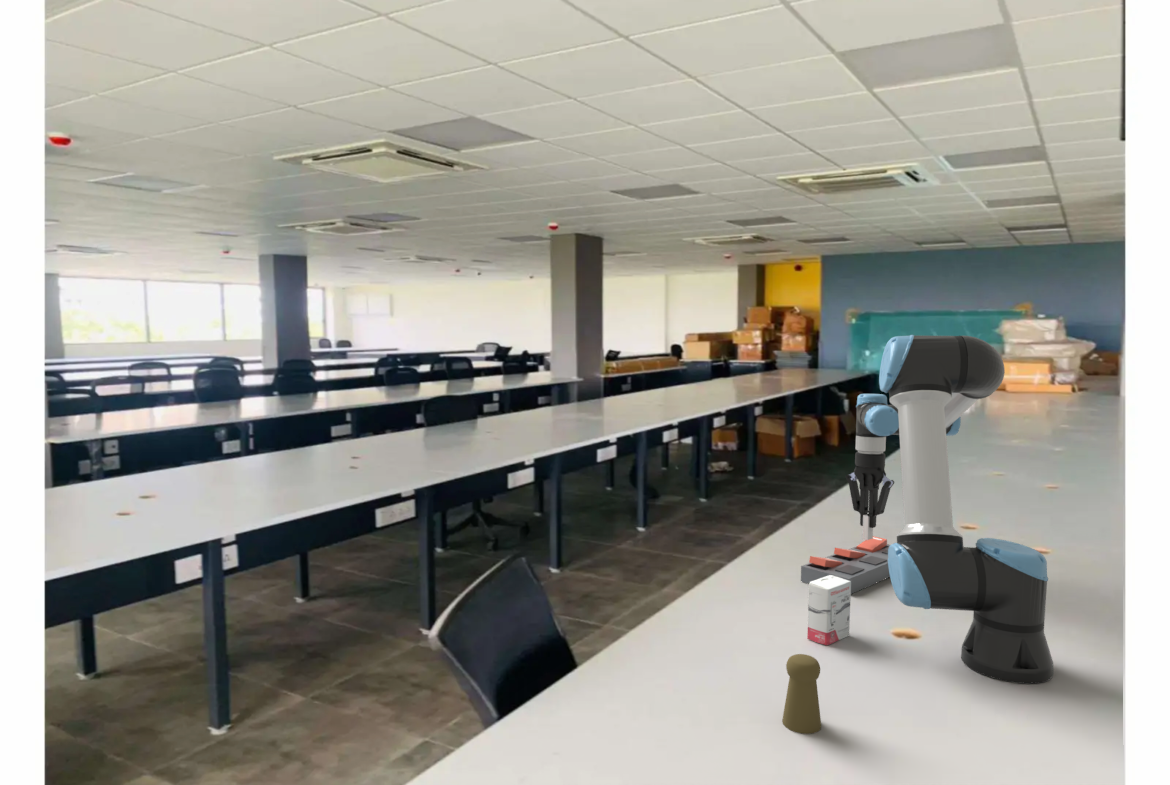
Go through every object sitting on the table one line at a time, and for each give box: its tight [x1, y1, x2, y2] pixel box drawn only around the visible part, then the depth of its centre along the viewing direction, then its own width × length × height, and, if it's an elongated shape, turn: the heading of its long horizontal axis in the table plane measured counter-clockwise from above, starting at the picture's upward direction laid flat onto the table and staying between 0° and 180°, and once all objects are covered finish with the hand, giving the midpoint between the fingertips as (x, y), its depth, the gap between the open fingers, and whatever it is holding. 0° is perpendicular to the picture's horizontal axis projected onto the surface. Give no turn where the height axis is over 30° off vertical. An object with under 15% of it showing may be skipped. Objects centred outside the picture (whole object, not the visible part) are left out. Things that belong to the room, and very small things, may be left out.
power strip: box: [800, 543, 891, 595], centre depth 200 cm, size 13×44×4 cm, turn 131°
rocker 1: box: [808, 555, 842, 567], centre depth 192 cm, size 4×8×2 cm, turn 131°
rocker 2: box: [833, 547, 866, 558], centre depth 200 cm, size 4×8×2 cm, turn 131°
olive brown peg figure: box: [781, 653, 822, 735], centre depth 122 cm, size 6×6×11 cm
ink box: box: [807, 575, 852, 646], centre depth 156 cm, size 9×5×12 cm, turn 129°
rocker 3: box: [856, 535, 888, 553], centre depth 207 cm, size 4×8×2 cm, turn 131°
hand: (867, 538), depth 205 cm, fingers closed
